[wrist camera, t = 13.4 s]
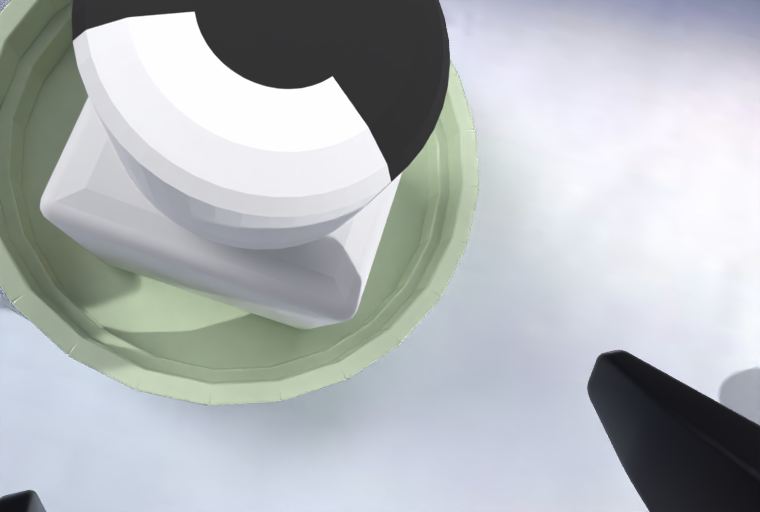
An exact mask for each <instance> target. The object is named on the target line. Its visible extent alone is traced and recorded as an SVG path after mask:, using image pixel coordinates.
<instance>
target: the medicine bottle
mask: <svg viewBox="0 0 760 512" xmlns="http://www.w3.org/2000/svg"><path fill="white" fill-rule="evenodd" d="M71 16H72V41H73V46H74V51H75V56H76V61H77V66H78V69H79V72H80V75H81V78H82V80H83V83H84V86H85V88H86V91H87V94H88V96H89V97H88V99H87V101H86V103H85V105H84V107H83V109H82V112H81V114H80V116H79V118H78V120H77V122H76V124H75V127H74V129H73V131H72V133H71V135H70V137H69V139H68V142H67V144H66V146H65V148H64V150H63V152H62V154H61V157H60V159H59V161H58V163H57V165H56V167H55V169H54V171H53V174H52V176H51V178H50V180H49V182H48V184H47V186H46V189H45V191H44V193H43V195H42V197H41V202H40V210H41V212H42V214H43V216H44V217H45V218H46V219H48V220H49V221H50V222H51V223H53V224H54V225H55V226H57V227H58V228H59V229H60V230H62V231H63V232H64V233H66V234H67V235H68V236H69V237H71V238H72V239H73V240H75V241H76V242H77V243H78V244H80V245H81V246H82V247H84V248H85V249H86V250H87V251H89V252H90V253H91V254H93V255H94V256H95V257H96V258H98V259H99V260H101V261H102V262H104V263H106V264H108V265H111V266H114V267H117V268H120V269H123V270H126V271H129V272H132V273H135V274H138V275H141V276H144V277H147V278H150V279H153V280H156V281H159V282H162V283H165V284H167V285H170V286H173V287H176V288H179V289H182V290H185V291H188V292H191V293H194V294H197V295H200V296H203V297H206V298H209V299H212V300H215V301H218V302H221V303H224V304H227V305H229V306H232V307H235V308H238V309H241V310H244V311H247V312H250V313H253V314H256V315H259V316H262V317H265V318H268V319H271V320H274V321H277V322H280V323H283V324H286V325H288V326H291V327H294V328H297V329H302V330H307V329H312V328H316V327H321V326H326V325H330V324H335V323H340V322H344V321H347V320H349V319H351V318H353V316H354V315H355V313H356V312H357V310H358V307H359V304H360V301H361V298H362V295H363V292H364V288H365V285H366V282H367V279H368V276H369V273H370V270H371V267H372V264H373V261H374V258H375V255H376V251H377V248H378V245H379V242H380V239H381V236H382V233H383V230H384V227H385V224H386V221H387V218H388V215H389V211H390V208H391V205H392V202H393V199H394V196H395V193H396V190H397V187H398V184H399V181H400V178H401V174H402V172H403V171H404V170H405V169H406V168H407V167H408V166H409V165H410V164H411V162H412V161H413V160H414V159H415V157H416V156H417V155H418V154H419V153H420V151H421V150H422V149H423V147H424V146H425V144H426V142H427V141H428V139H429V137H430V136H431V134H432V132H433V130H434V129H435V126H436V124H437V121H438V119H439V116H440V114H441V111H442V109H443V105H444V101H445V97H446V93H447V89H448V82H449V70H450V52H449V39H448V33H447V28H446V23H445V18H444V15H443V12H442V9H441V6H440V3H439V0H73V6H72V14H71Z"/></svg>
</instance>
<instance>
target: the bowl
mask: <svg viewBox="0 0 760 512" xmlns="http://www.w3.org/2000/svg"><path fill="white" fill-rule="evenodd" d="M72 6H73V0H10V1H9V3H8V4H7V5H6V6H5V8H4V9H3V10H2V11H1V12H0V286H1V288H2V289H3V291H4V293H5V294H6V296H7V298H8V299H9V301H10V302H12V304H13V306H14V307H15V308H16V309H17V310H18V311H20V312H21V313H22V314H23V315H24V316H25V317H26V318H27V319H28V320H29V321H30V322H31V323H33V324H34V325H35V326H36V327H37V328H38V329H39V330H40V331H41V332H42V333H43V334H44V335H46V336H47V337H48V338H49V339H50V340H51V341H52V342H53V343H54V344H55V345H56V346H58V347H59V348H60V349H61V350H62V351H63V352H64V353H65V354H68V356H69V357H71V358H73V359H75V360H77V361H79V362H81V363H83V364H85V365H87V366H89V367H91V368H93V369H95V370H96V371H98V372H100V373H102V374H104V375H106V376H108V377H110V378H112V379H114V380H116V381H118V382H120V383H122V384H124V385H126V386H128V387H130V388H132V389H136V390H137V391H141V392H146V393H150V394H155V395H160V396H165V397H170V398H174V399H179V400H184V401H189V402H193V403H198V404H203V405H209V404H210V405H212V406H213V405H230V404H248V403H266V402H279V401H280V400H281V401H284V400H287V399H291V398H294V397H297V396H300V395H303V394H306V393H309V392H312V391H315V390H318V389H321V388H324V387H327V386H330V385H333V384H336V383H339V382H342V381H344V380H345V379H349V378H350V377H352V376H353V375H355V374H356V373H358V372H359V371H361V370H363V369H364V368H366V367H367V366H369V365H370V364H372V363H373V362H375V361H376V360H378V359H379V358H381V357H382V356H384V355H385V354H387V353H388V352H390V351H391V350H393V349H394V348H396V347H398V346H399V345H400V343H402V342H403V341H404V340H405V339H406V338H407V336H408V335H409V334H410V333H411V332H412V331H413V330H414V328H415V327H416V326H417V325H418V324H419V323H420V322H421V321H422V319H423V318H424V317H425V316H426V315H427V314H428V313H429V311H430V310H431V309H432V308H433V307H434V306H435V305H436V304H437V302H438V301H439V300H440V297H442V296H443V294H444V292H445V289H446V287H447V285H448V283H449V281H450V279H451V277H452V275H453V273H454V271H455V269H456V267H457V265H458V263H459V261H460V259H461V257H462V255H463V253H464V251H465V249H466V247H467V243H468V240H469V235H470V230H471V225H472V220H473V215H474V210H475V205H476V200H477V195H478V190H479V189H478V186H479V179H478V161H477V144H476V131H475V126H474V122H473V119H472V116H471V113H470V109H469V106H468V103H467V100H466V97H465V93H464V90H463V87H462V84H461V80H460V77H459V75H457V74H458V72H457V71H456V69H455V67H454V65H453V64H452V62H451V60H450V70H449V82H448V89H447V93H446V97H445V101H444V105H443V109H442V111H441V114H440V116H439V119H438V121H437V124H436V126H435V129H434V130H433V132H432V134H431V136H430V137H429V139H428V141H427V142H426V144H425V146H424V147H423V149H422V150H421V151H420V153H419V154H418V155H417V156H416V157H415V159H414V160H413V161H412V162H411V164H410V165H409V166H408V167H407V168H406V169H405V170H404V171H403V172H402V174H401V178H400V181H399V184H398V187H397V190H396V193H395V196H394V199H393V202H392V205H391V208H390V211H389V215H388V218H387V221H386V224H385V227H384V230H383V233H382V236H381V239H380V242H379V245H378V248H377V251H376V255H375V258H374V261H373V264H372V267H371V270H370V273H369V276H368V279H367V282H366V285H365V288H364V292H363V295H362V298H361V301H360V304H359V307H358V310H357V312H356V313H355V315H354V316H353V318H351V319H349V320H347V321H344V322H340V323H335V324H330V325H326V326H321V327H316V328H312V329H307V330H302V329H297V328H294V327H291V326H288V325H286V324H283V323H280V322H277V321H274V320H271V319H268V318H265V317H262V316H259V315H256V314H253V313H250V312H247V311H244V310H241V309H238V308H235V307H232V306H229V305H227V304H224V303H221V302H218V301H215V300H212V299H209V298H206V297H203V296H200V295H197V294H194V293H191V292H188V291H185V290H182V289H179V288H176V287H173V286H170V285H167V284H165V283H162V282H159V281H156V280H153V279H150V278H147V277H144V276H141V275H138V274H135V273H132V272H129V271H126V270H123V269H120V268H117V267H114V266H111V265H108V264H106V263H104V262H102V261H101V260H99V259H98V258H96V257H95V256H94V255H93V254H91V253H90V252H89V251H87V250H86V249H85V248H84V247H82V246H81V245H80V244H78V243H77V242H76V241H75V240H73V239H72V238H71V237H69V236H68V235H67V234H66V233H64V232H63V231H62V230H60V229H59V228H58V227H57V226H55V225H54V224H53V223H51V222H50V221H49V220H48V219H46V218H45V217H44V216H43V214H42V212H41V210H40V202H41V197H42V195H43V193H44V191H45V189H46V186H47V184H48V182H49V180H50V178H51V176H52V174H53V171H54V169H55V167H56V165H57V163H58V161H59V159H60V157H61V154H62V152H63V150H64V148H65V146H66V144H67V142H68V139H69V137H70V135H71V133H72V131H73V129H74V127H75V124H76V122H77V120H78V118H79V116H80V114H81V112H82V109H83V107H84V105H85V103H86V101H87V99H88V97H89V96H88V94H87V91H86V88H85V86H84V83H83V80H82V78H81V75H80V72H79V69H78V66H77V61H76V56H75V51H74V46H73V41H72V16H71V14H72Z"/></svg>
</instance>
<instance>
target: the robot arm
mask: <svg viewBox="0 0 760 512" xmlns="http://www.w3.org/2000/svg"><path fill="white" fill-rule="evenodd" d="M587 389H588V394H589V398H590V400H591V402H592V404H593V406H594V408H595V410H596V412H597V414H598V416H599V418H600V421H601V423H602V425H603V427H604V429H605V431H606V433H607V435H608V437H609V439H610V441H611V443H612V445H613V447H614V449H615V451H616V454H617V456H618V458H619V460H620V462H621V464H622V466H623V467H624V469H625V471H626V473H627V475H628V477H629V478H630V480H631V482H632V484H633V485H634V487H635V489H636V490H637V492H638V494H639V495H640V497H641V499H642V500H643V502H644V503H645V505H646V507H647V508H648V510H649V512H760V425H758V424H756V423H754V422H752V421H751V420H749V419H747V418H745V417H743V416H742V415H740V414H738V413H736V412H734V411H733V410H731V409H729V408H727V407H725V406H724V405H722V404H720V403H718V402H716V401H715V400H713V399H711V398H709V397H707V396H706V395H704V394H702V393H700V392H698V391H697V390H695V389H693V388H691V387H689V386H688V385H686V384H684V383H682V382H680V381H679V380H677V379H675V378H673V377H671V376H670V375H668V374H666V373H664V372H662V371H661V370H659V369H657V368H655V367H653V366H652V365H650V364H648V363H646V362H644V361H643V360H641V359H639V358H637V357H635V356H634V355H632V354H630V353H628V352H626V351H623V350H614V351H610V352H606V353H602V354H601V355H599V356H598V358H597V360H596V363H595V365H594V368H593V371H592V373H591V376H590V379H589V381H588V386H587ZM0 512H46V510H45V508H44V507H43V505H42V503H41V501H40V499H39V497H38V495H37V494H36V492H34V491H32V490H26V491H22V492H18V493H14V494H9V495H5V496H3V497H1V498H0Z"/></svg>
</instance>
